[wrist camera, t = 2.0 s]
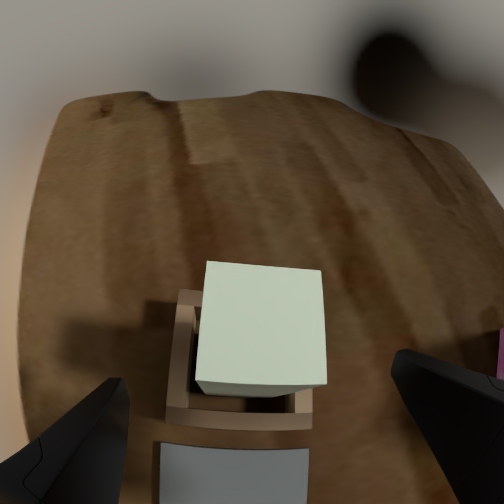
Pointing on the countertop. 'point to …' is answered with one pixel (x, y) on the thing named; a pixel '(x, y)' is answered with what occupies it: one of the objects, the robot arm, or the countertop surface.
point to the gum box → (501, 356)
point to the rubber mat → (232, 475)
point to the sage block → (261, 331)
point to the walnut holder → (181, 414)
